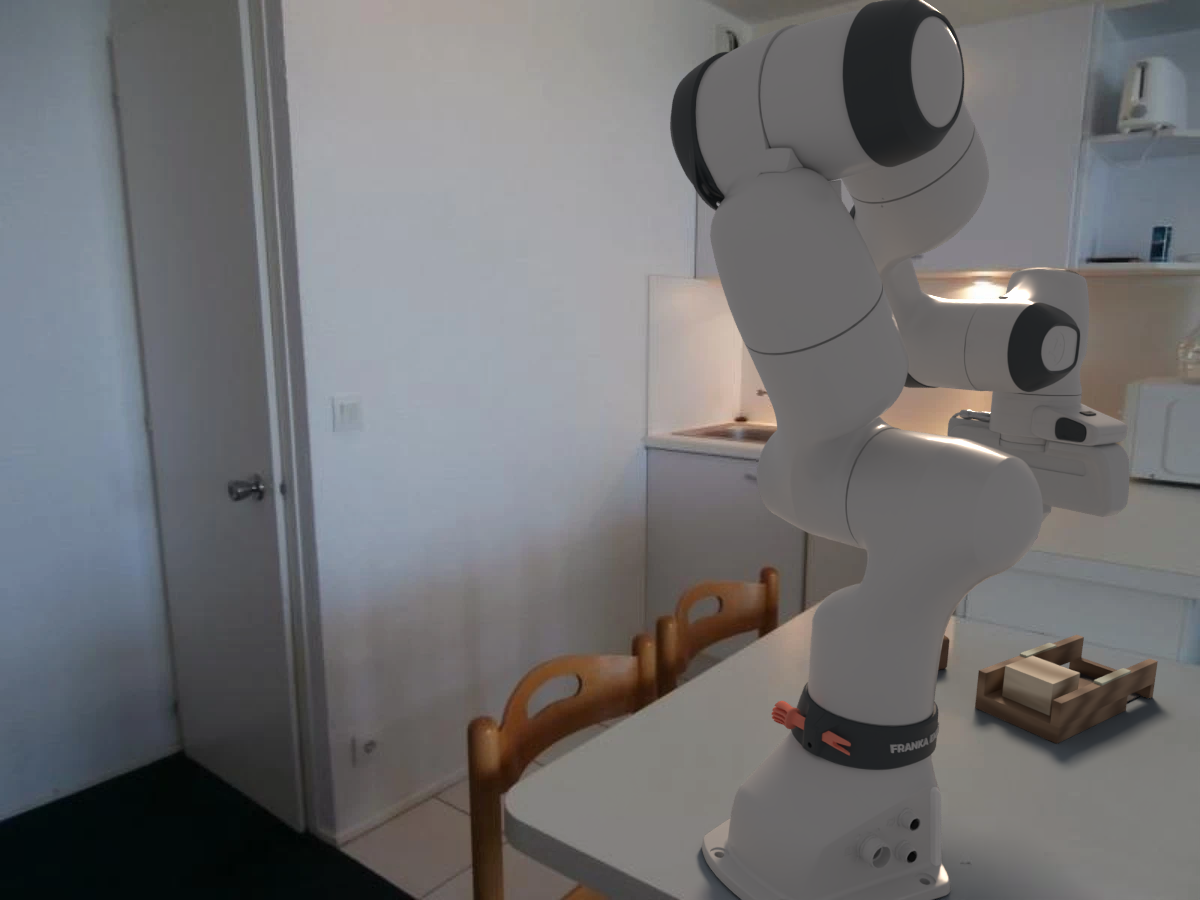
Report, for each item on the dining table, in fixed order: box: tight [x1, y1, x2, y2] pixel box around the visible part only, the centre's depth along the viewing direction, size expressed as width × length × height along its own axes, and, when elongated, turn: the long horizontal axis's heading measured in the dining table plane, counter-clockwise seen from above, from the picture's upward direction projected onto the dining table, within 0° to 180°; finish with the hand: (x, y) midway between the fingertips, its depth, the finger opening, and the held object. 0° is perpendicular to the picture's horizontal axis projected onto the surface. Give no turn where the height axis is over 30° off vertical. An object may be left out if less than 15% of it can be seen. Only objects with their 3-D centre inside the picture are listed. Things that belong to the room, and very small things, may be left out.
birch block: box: [1002, 656, 1080, 716], centre depth 105 cm, size 6×6×4 cm
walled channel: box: [974, 634, 1159, 744], centre depth 108 cm, size 23×10×5 cm, turn 123°
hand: (1020, 537), depth 97 cm, fingers closed
